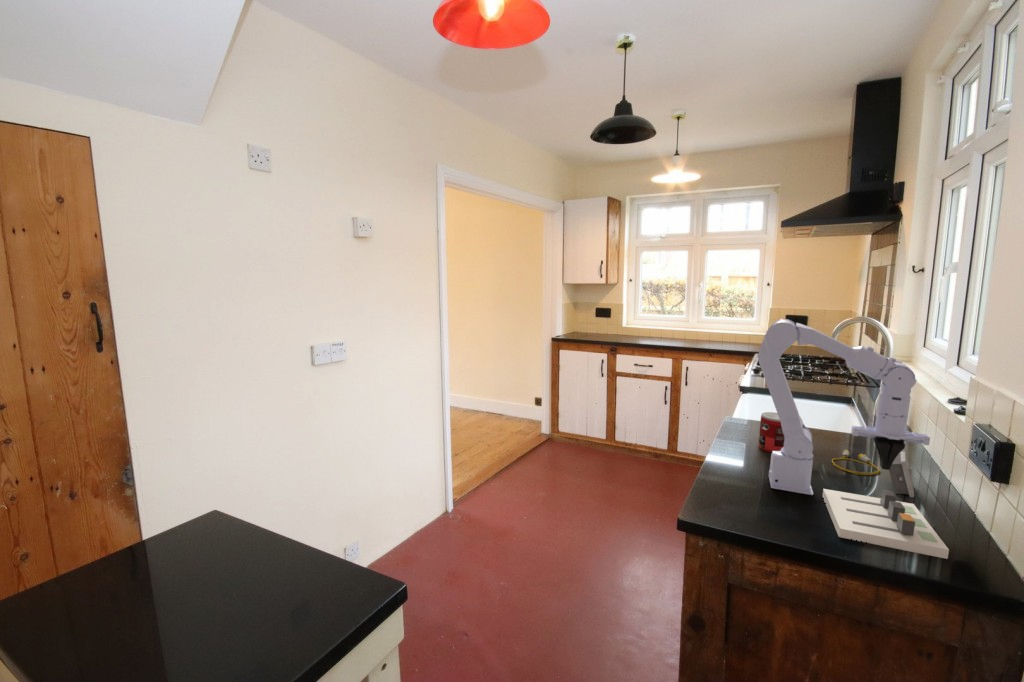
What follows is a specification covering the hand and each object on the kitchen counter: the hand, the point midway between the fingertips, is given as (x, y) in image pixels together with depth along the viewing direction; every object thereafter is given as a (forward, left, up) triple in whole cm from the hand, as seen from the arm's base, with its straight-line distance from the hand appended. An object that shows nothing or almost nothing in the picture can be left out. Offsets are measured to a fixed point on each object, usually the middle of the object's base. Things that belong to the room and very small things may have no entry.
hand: (884, 468), depth 112 cm
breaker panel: (-3, -11, -9) cm, 15 cm away
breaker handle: (0, -17, -7) cm, 18 cm away
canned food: (-21, +29, -10) cm, 37 cm away
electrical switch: (+7, +12, -10) cm, 17 cm away
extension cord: (0, +26, -10) cm, 28 cm away
